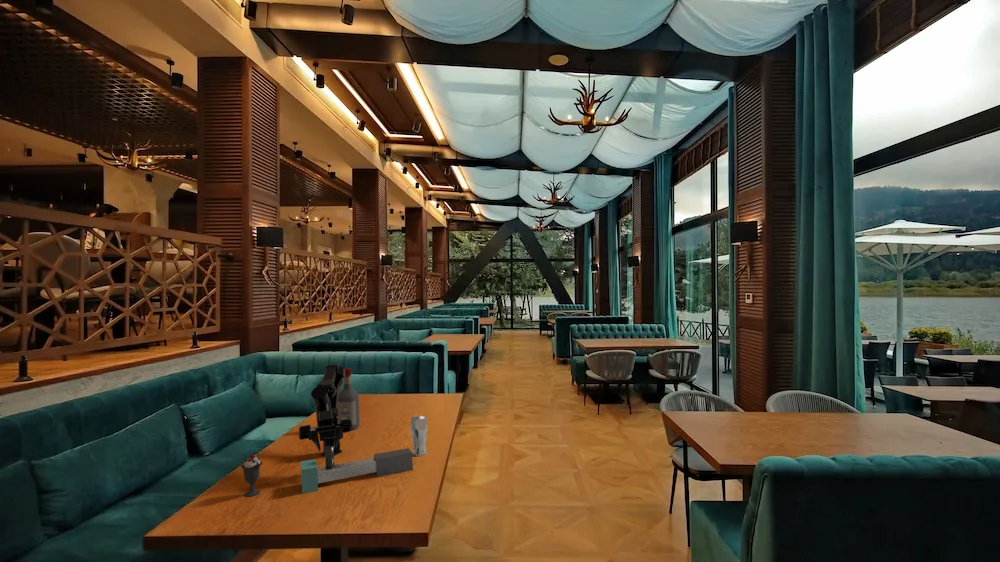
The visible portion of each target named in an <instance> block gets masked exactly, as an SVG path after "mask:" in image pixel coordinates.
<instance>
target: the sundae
mask: <svg viewBox="0 0 1000 562" xmlns="http://www.w3.org/2000/svg"><path fill="white" fill-rule="evenodd" d="M252 452H253V451H250V452H249V456H248V457H247V460H246V461H245V462H244V463H243V464H242V465H241V466H240V468H241V469H242V471H243V476H244V480H245V482H246V483H247V484H249V490H248V491H247V492H245V493H244V494H243V496H244V497H247V498H248V497H249V498H250V496H251V497H254V496H255V497H256V496H257V495H259V494H260V493H261V490H259V489H255V484H256V483H257V481H258V480H259V477H260V469H261V466H262V465H263V460H260V457H258V456H257V455H255V454H252Z"/></svg>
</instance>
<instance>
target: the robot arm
mask: <svg viewBox="0 0 1000 562" xmlns="http://www.w3.org/2000/svg"><path fill="white" fill-rule="evenodd" d="M345 369H346V368H344V367H342V366H341V365H340V366H339V364H327V365H326V366H325V368H324V375H323V378H322V380H321V381H319V382H318V383H317V384H316V387H314V389H312V391H311V392H310V396H311V399H312V402H313V405H314V406H315V417H316V426H311V424H305V425H304V424H303V425H300V426H299V428H298V440H300V441H301V440H308V441H311V442H313V444H314V445H315V446H316V448H317V450H318V452H321V449H322V448H323V449H322V450H323V452H321V453H320V455H322V456H325V447H326V446H329V445H333V446H334V456H336V455H338V454H340V453H342V452H343V449H341V442H340V440H342V439H343V438H344V433H349V432H351V426H352V421H351V420H350V419H344V420H340V423H339V420H338V408H337V407H338V396H339V394H340V387H341V386H342V385H344V378H345ZM321 442H322V444H323V446H322V448H321Z"/></svg>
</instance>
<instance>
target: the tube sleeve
mask: <svg viewBox="0 0 1000 562" xmlns="http://www.w3.org/2000/svg"><path fill="white" fill-rule="evenodd" d="M412 453H413V451H412V450H411V449H410V448H409V447H407V448H402V449H396V450H395V449H394V450H391V451H384V452H378V453H374V454H373V458H375V459H376V467H377V472H374V473H375V475H376V478H378V477H384V476H388V475H394V474H400V473H404V472H409V471H414V462H413V461H414V460H413V454H412Z"/></svg>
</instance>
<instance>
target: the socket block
mask: <svg viewBox="0 0 1000 562" xmlns="http://www.w3.org/2000/svg"><path fill="white" fill-rule="evenodd" d="M317 468H318V463H317V459H316V458H314V459H308V460H302V461H300V475H301V477H300V478H301V480H300V481H301V482H300V483H301V493H302V494H306V493H307V494H308V493H311V492H316V491H317V492H318V491H319V486H318V485H319V483H318V476H317Z"/></svg>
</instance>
